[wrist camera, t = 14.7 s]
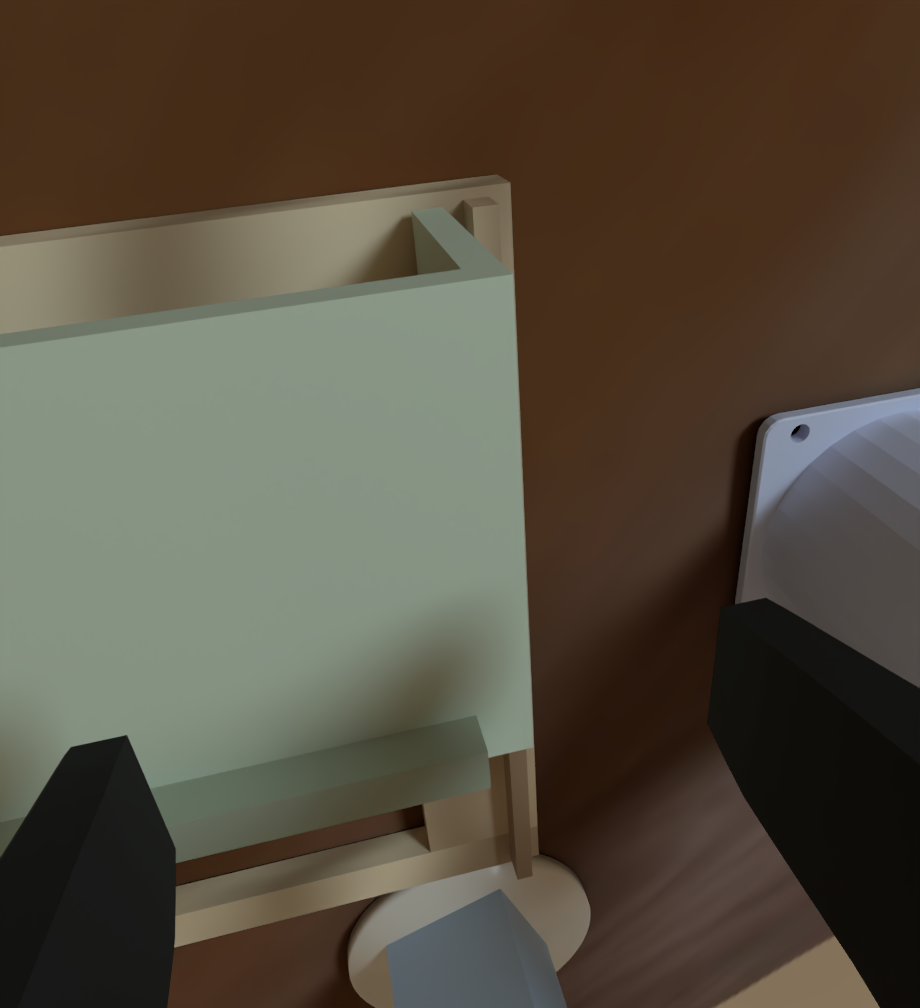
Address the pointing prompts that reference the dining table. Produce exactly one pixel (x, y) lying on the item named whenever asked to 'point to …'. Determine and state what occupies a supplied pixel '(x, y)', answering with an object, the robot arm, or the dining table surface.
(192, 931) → the beige open frame
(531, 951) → the slate-blue block
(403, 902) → the cream saucer
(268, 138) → the dining table surface
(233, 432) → the sliding cover
